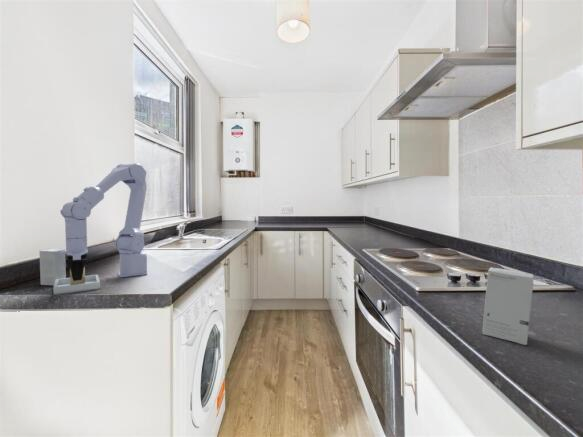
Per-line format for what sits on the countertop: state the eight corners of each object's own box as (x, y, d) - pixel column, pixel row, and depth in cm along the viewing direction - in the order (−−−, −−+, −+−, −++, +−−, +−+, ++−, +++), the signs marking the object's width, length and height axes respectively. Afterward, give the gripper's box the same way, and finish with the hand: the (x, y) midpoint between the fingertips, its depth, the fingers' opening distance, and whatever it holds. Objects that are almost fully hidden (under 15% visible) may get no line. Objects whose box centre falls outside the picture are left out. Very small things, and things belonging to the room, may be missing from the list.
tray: (98, 280, 106) (97, 274, 106) (100, 288, 96) (99, 282, 96) (55, 285, 98) (55, 279, 98) (53, 295, 89) (53, 287, 89)
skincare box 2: (482, 334, 66) (485, 270, 65) (485, 326, 70) (488, 266, 69) (529, 346, 60) (533, 276, 59) (530, 336, 65) (533, 271, 64)
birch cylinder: (85, 283, 100) (84, 263, 100) (85, 286, 97) (84, 265, 96) (70, 285, 98) (70, 265, 97) (70, 288, 94) (69, 267, 94)
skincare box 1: (66, 282, 103) (65, 249, 102) (55, 285, 99) (54, 251, 98) (51, 281, 104) (50, 248, 103) (39, 285, 99) (38, 250, 99)
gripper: (62, 236, 100) (63, 274, 101) (60, 240, 88) (61, 284, 89) (87, 235, 104) (88, 272, 105) (88, 239, 92) (89, 281, 93)
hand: (77, 277), depth 97 cm, fingers open, 7 cm apart
